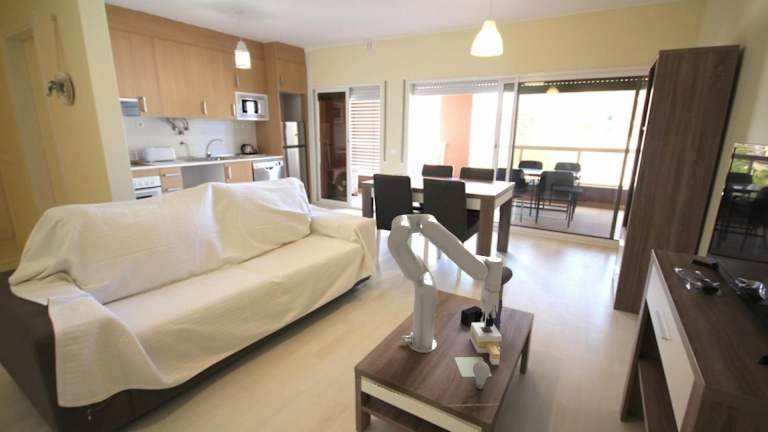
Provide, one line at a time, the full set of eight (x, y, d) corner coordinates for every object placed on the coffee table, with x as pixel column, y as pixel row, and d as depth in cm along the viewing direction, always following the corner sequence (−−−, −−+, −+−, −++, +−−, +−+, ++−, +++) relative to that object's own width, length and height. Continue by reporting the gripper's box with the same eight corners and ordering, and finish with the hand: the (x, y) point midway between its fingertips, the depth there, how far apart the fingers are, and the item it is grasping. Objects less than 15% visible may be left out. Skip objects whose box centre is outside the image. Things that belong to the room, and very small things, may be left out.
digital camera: (468, 328, 174) (469, 315, 172) (460, 323, 178) (461, 310, 177) (482, 322, 180) (483, 309, 178) (474, 317, 184) (475, 305, 182)
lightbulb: (468, 389, 132) (471, 364, 129) (474, 380, 137) (476, 355, 134) (484, 396, 129) (487, 370, 126) (490, 387, 134) (492, 361, 131)
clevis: (483, 365, 146) (485, 347, 144) (469, 339, 164) (471, 322, 162) (507, 365, 146) (509, 347, 144) (490, 338, 165) (492, 322, 163)
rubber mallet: (498, 333, 170) (505, 275, 163) (483, 327, 175) (489, 270, 168) (508, 322, 179) (514, 267, 172) (493, 317, 184) (499, 263, 177)
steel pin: (483, 334, 155) (486, 305, 151) (480, 329, 159) (483, 301, 156) (493, 334, 155) (496, 305, 152) (490, 329, 159) (493, 300, 156)
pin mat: (462, 377, 138) (462, 376, 138) (454, 358, 150) (454, 357, 150) (491, 377, 139) (492, 376, 139) (481, 358, 151) (482, 357, 151)
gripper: (476, 277, 159) (473, 314, 164) (489, 294, 144) (485, 334, 148) (493, 277, 160) (489, 314, 164) (507, 293, 144) (503, 334, 148)
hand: (487, 323), depth 156 cm, fingers closed on steel pin, 3 cm apart
